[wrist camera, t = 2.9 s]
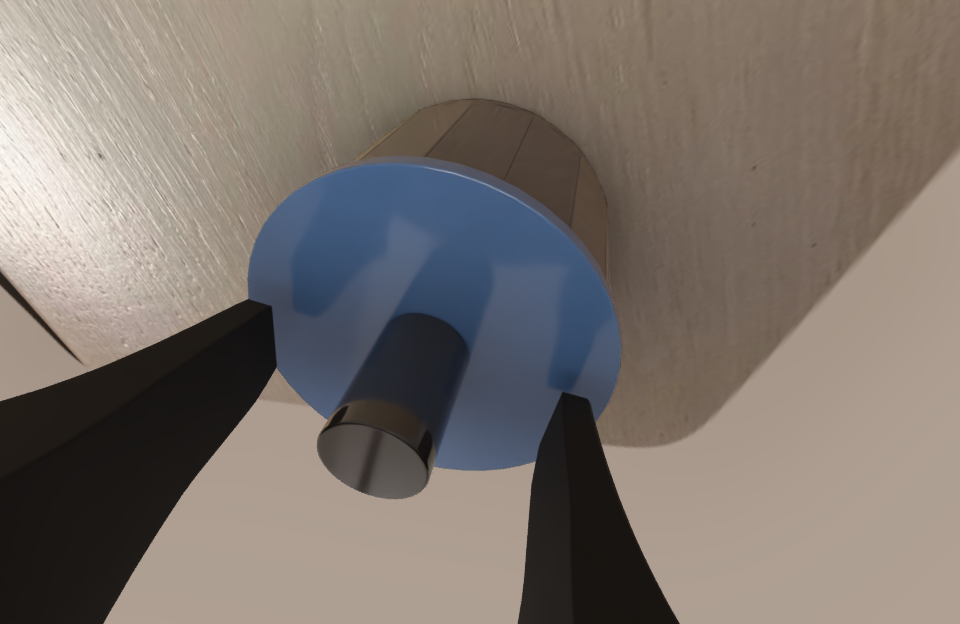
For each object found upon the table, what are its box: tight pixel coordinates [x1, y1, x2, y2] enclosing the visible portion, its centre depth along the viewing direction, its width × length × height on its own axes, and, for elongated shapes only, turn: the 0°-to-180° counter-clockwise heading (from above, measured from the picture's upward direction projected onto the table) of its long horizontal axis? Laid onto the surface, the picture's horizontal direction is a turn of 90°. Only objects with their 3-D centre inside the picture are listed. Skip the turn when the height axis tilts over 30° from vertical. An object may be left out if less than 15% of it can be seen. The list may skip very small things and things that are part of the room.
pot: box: [351, 99, 610, 286], centre depth 16 cm, size 9×9×6 cm
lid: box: [248, 156, 621, 499], centre depth 12 cm, size 10×10×5 cm
